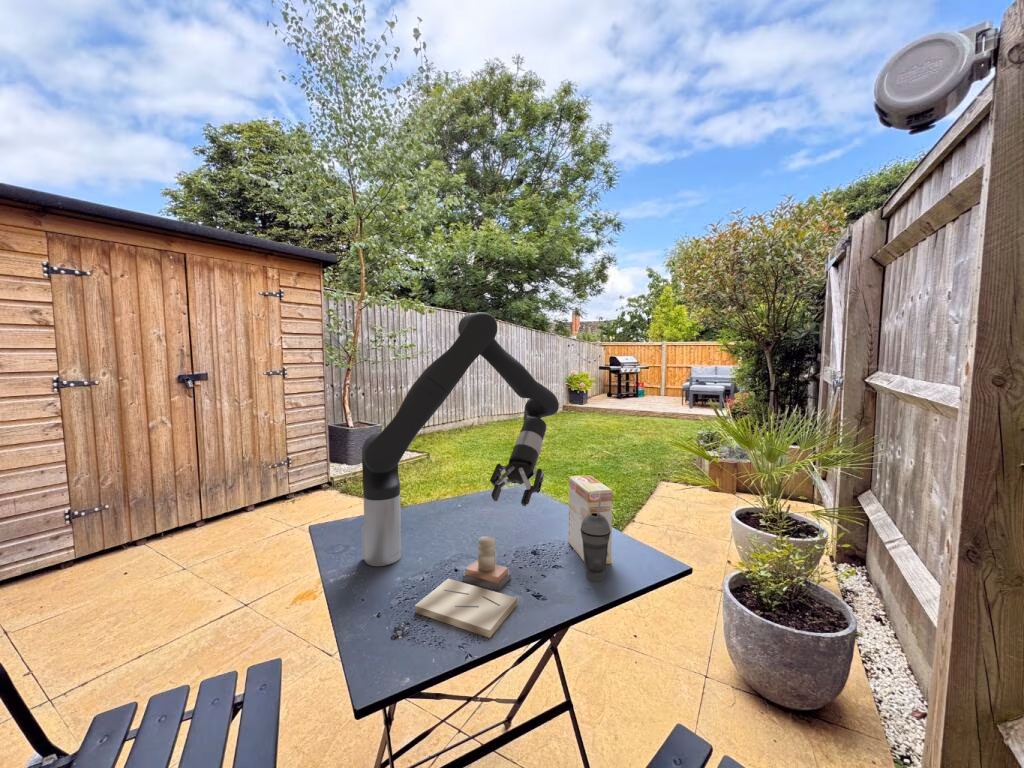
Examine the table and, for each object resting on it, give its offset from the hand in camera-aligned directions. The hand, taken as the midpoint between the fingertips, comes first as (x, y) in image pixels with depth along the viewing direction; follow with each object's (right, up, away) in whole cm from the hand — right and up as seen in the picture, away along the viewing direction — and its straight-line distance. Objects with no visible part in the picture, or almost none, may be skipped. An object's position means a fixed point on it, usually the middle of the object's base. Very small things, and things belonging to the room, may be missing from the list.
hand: (508, 502), depth 109 cm
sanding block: (-5, -16, -9) cm, 19 cm away
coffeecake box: (+22, -15, +5) cm, 27 cm away
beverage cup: (+21, -16, -8) cm, 28 cm away
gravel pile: (-21, -18, -28) cm, 39 cm away
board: (-9, -17, -21) cm, 28 cm away
